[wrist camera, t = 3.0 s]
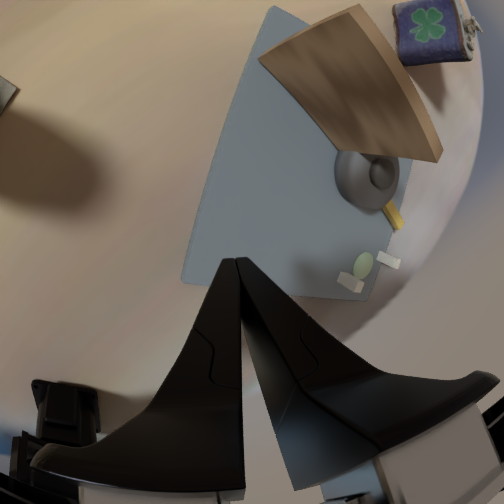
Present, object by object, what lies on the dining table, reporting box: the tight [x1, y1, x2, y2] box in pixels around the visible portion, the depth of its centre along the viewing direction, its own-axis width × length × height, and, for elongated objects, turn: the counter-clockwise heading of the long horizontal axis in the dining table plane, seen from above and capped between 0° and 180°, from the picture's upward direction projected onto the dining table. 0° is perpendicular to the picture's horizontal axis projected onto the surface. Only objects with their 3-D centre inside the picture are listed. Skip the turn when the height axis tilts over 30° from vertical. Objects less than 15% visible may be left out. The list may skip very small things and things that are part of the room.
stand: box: [181, 5, 413, 301], centre depth 21 cm, size 22×20×3 cm
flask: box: [392, 0, 483, 66], centre depth 16 cm, size 9×3×11 cm, turn 174°
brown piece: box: [257, 4, 443, 230], centre depth 17 cm, size 20×6×9 cm, turn 48°
